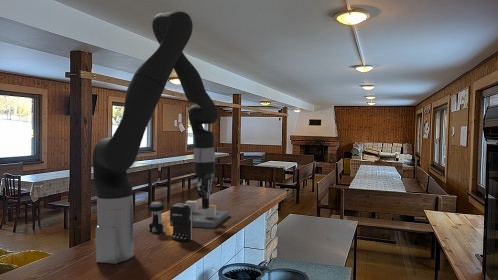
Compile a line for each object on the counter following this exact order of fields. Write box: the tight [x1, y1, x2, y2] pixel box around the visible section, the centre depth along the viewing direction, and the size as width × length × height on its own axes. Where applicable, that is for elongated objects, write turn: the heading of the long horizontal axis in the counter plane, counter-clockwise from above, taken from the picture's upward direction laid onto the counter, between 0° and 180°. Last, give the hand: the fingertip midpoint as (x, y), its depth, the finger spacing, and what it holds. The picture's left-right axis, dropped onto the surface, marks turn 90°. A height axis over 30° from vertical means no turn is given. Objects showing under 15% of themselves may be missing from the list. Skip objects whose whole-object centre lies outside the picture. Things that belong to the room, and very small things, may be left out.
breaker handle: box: [203, 204, 217, 218], centre depth 133 cm, size 2×4×4 cm, turn 75°
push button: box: [147, 201, 165, 234], centre depth 123 cm, size 7×5×10 cm
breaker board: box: [169, 200, 230, 229], centre depth 137 cm, size 18×17×6 cm
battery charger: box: [169, 203, 193, 242], centre depth 113 cm, size 7×4×11 cm, turn 64°
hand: (205, 208), depth 128 cm, fingers closed
